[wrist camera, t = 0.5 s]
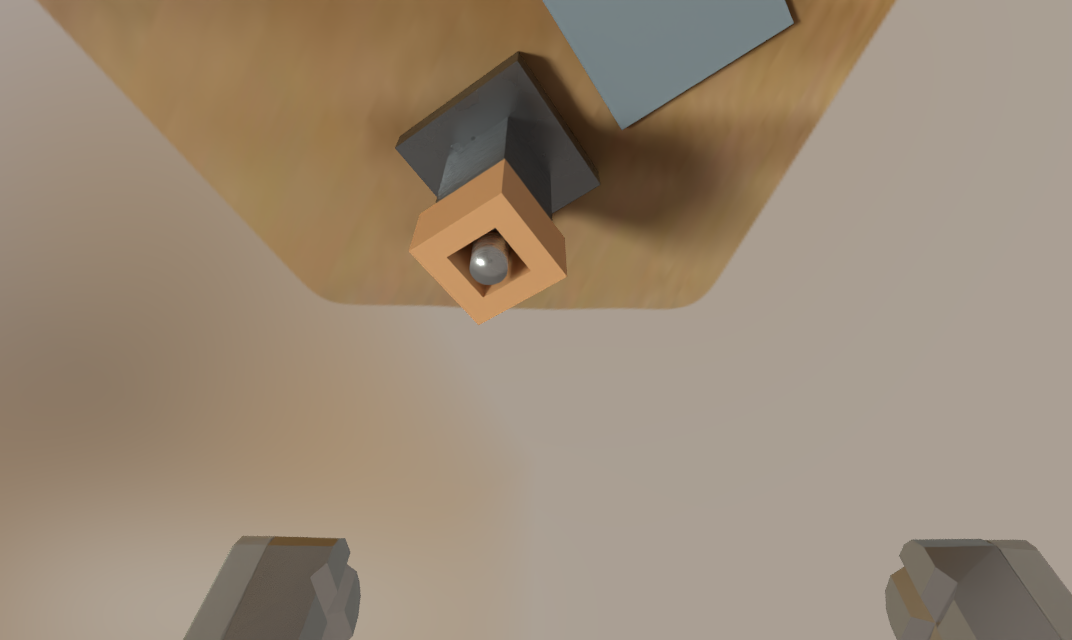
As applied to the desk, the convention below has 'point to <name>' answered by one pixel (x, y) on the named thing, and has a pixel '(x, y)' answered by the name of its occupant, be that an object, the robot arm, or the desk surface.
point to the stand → (500, 150)
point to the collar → (473, 214)
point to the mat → (661, 44)
